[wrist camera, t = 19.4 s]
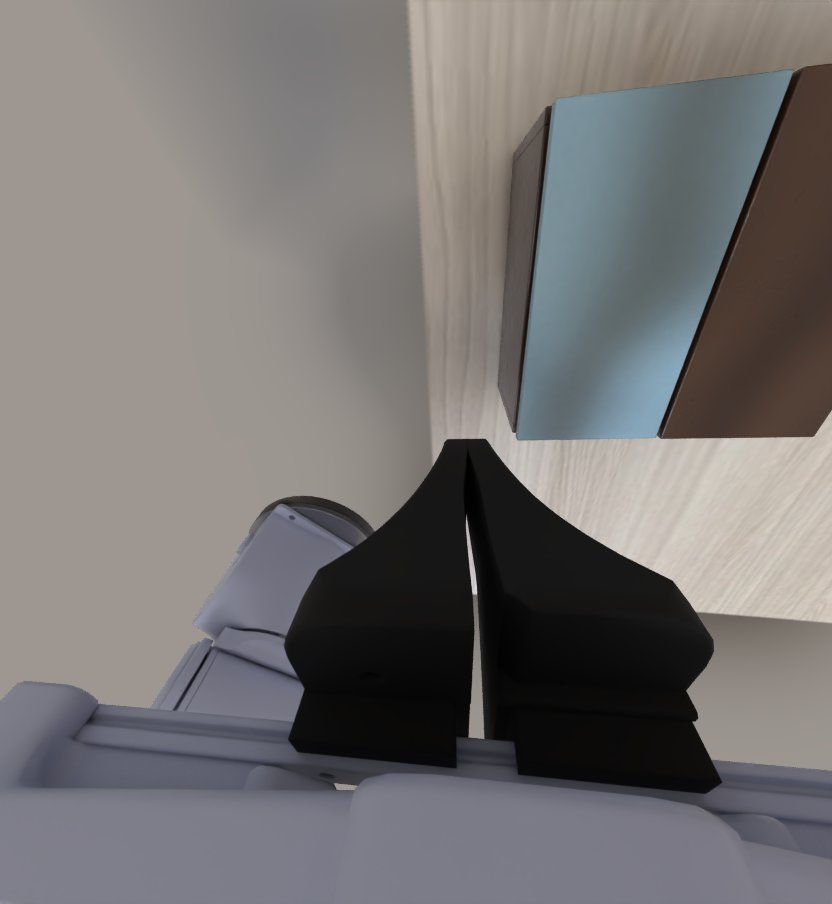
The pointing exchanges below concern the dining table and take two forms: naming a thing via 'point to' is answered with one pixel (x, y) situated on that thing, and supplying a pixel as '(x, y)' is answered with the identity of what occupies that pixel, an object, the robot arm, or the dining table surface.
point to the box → (727, 286)
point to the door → (634, 246)
